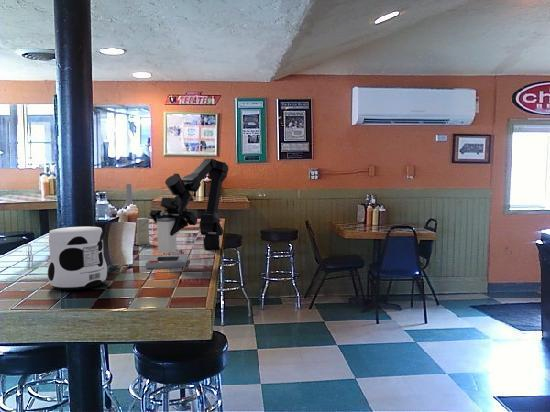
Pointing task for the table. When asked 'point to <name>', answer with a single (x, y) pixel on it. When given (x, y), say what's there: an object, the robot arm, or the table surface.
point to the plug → (166, 235)
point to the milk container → (76, 258)
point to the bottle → (128, 196)
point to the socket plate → (167, 261)
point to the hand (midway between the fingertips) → (164, 234)
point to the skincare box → (142, 231)
